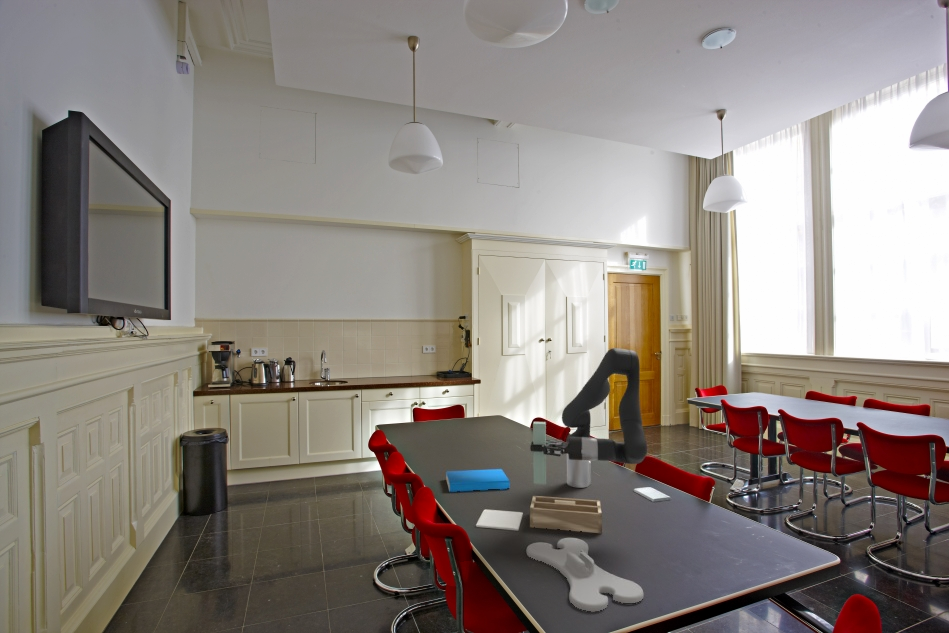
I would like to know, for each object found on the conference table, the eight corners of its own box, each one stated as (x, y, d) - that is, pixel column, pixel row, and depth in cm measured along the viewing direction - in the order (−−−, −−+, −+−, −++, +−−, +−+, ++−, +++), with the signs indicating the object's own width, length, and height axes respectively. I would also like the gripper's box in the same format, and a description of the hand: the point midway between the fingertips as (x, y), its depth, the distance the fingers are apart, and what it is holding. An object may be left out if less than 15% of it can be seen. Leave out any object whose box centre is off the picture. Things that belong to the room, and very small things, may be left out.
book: (445, 471, 204) (501, 468, 208) (445, 481, 204) (501, 477, 208) (449, 483, 187) (510, 479, 191) (449, 494, 187) (510, 490, 191)
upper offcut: (554, 508, 163) (554, 499, 163) (575, 510, 161) (575, 501, 161) (554, 512, 159) (554, 503, 159) (575, 513, 158) (575, 504, 158)
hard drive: (671, 496, 179) (650, 486, 191) (653, 499, 177) (633, 488, 188) (671, 501, 179) (650, 490, 191) (653, 503, 176) (633, 492, 188)
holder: (581, 617, 106) (581, 595, 106) (521, 550, 138) (521, 533, 138) (651, 602, 112) (651, 581, 112) (578, 541, 144) (578, 525, 144)
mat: (484, 511, 168) (484, 509, 168) (522, 514, 165) (522, 512, 165) (476, 526, 154) (476, 525, 154) (518, 530, 151) (518, 528, 151)
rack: (533, 512, 166) (533, 495, 166) (599, 518, 161) (599, 500, 161) (529, 527, 154) (529, 508, 154) (601, 533, 149) (601, 514, 149)
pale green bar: (534, 480, 159) (533, 421, 160) (546, 481, 158) (545, 422, 159) (533, 483, 156) (533, 423, 156) (545, 484, 155) (545, 424, 155)
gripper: (582, 432, 161) (532, 430, 165) (583, 442, 148) (529, 439, 151) (582, 454, 161) (532, 452, 165) (583, 466, 147) (529, 463, 151)
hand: (531, 446), depth 158 cm, fingers closed on pale green bar, 3 cm apart
